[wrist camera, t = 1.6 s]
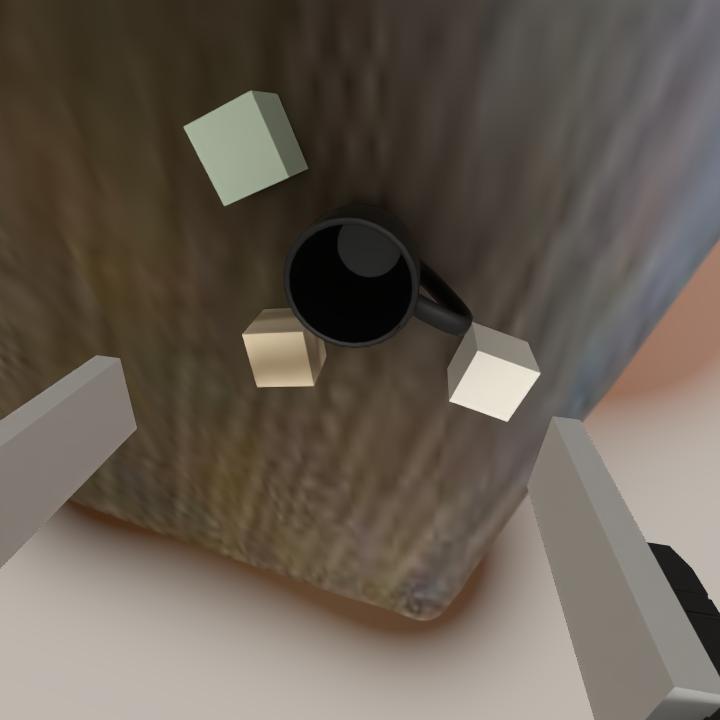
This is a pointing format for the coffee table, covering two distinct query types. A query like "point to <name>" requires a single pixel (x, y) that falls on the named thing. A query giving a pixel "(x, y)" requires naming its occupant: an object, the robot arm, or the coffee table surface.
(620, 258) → the coffee table surface
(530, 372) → the cream cube
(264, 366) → the maple cube
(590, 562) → the robot arm
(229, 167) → the sage cube
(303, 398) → the coffee table surface
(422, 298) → the mug
